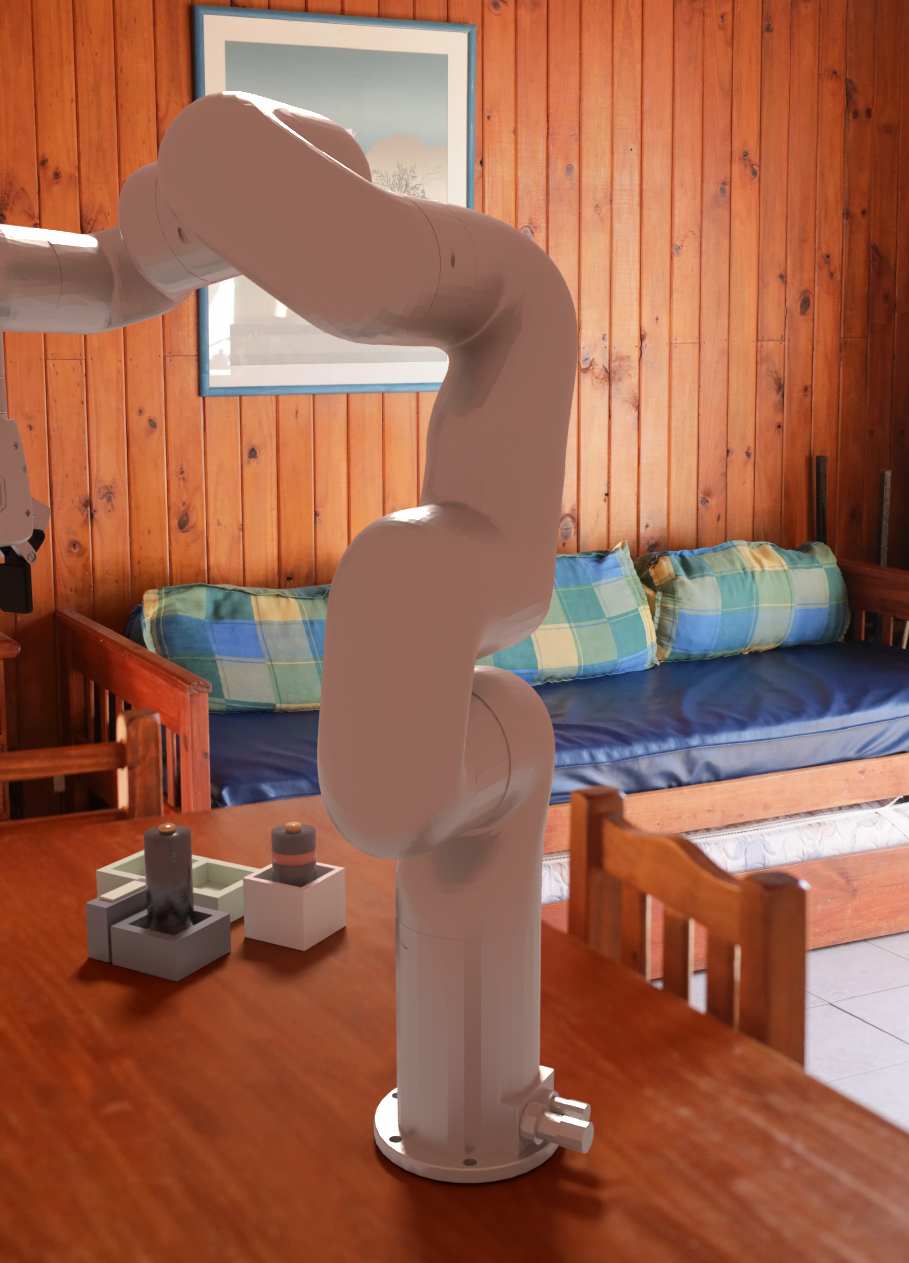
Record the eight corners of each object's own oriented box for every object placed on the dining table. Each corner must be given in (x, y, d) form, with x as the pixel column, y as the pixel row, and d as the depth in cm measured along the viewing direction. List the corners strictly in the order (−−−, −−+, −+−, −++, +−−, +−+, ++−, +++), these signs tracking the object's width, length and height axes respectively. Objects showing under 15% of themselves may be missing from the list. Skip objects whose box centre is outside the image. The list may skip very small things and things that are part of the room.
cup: (345, 925, 125) (344, 819, 123) (304, 951, 119) (301, 840, 118) (287, 912, 128) (285, 809, 126) (244, 936, 123) (241, 829, 121)
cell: (204, 928, 118) (200, 823, 117) (173, 944, 115) (169, 836, 113) (169, 919, 120) (164, 816, 119) (138, 935, 117) (133, 828, 115)
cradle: (231, 951, 119) (229, 894, 119) (177, 981, 113) (174, 922, 112) (144, 929, 124) (141, 875, 123) (87, 957, 118) (84, 900, 117)
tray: (271, 900, 131) (270, 871, 131) (219, 929, 124) (217, 898, 124) (153, 874, 138) (152, 846, 138) (97, 899, 132) (96, 870, 131)
